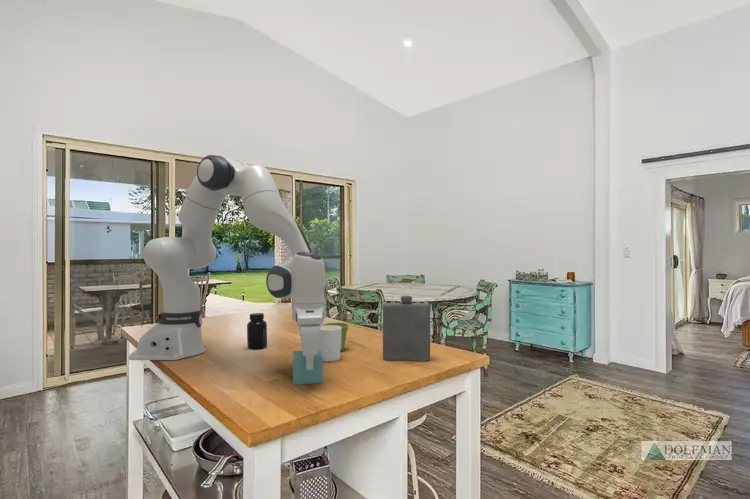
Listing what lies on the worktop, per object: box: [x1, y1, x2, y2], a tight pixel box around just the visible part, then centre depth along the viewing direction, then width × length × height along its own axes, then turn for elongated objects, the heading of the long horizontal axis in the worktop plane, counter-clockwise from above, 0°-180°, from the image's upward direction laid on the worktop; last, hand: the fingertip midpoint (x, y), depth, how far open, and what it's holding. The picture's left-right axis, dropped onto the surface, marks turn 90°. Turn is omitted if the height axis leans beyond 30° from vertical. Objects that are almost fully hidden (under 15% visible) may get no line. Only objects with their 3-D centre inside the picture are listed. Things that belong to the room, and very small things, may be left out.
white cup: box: [318, 325, 342, 362], centre depth 128 cm, size 8×8×10 cm
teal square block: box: [292, 350, 324, 386], centre depth 108 cm, size 8×8×7 cm
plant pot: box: [321, 322, 350, 352], centre depth 139 cm, size 9×9×9 cm
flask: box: [382, 295, 431, 362], centre depth 128 cm, size 15×6×20 cm, turn 84°
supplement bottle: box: [246, 312, 268, 351], centre depth 143 cm, size 7×7×12 cm
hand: (309, 363), depth 108 cm, fingers open, 8 cm apart
